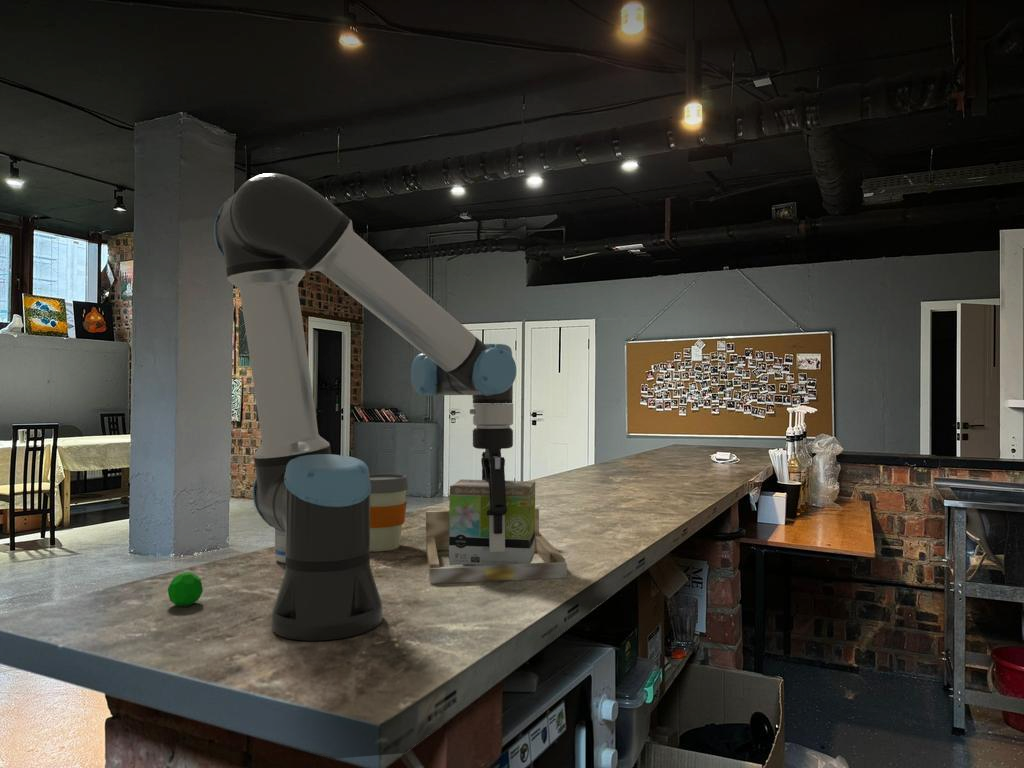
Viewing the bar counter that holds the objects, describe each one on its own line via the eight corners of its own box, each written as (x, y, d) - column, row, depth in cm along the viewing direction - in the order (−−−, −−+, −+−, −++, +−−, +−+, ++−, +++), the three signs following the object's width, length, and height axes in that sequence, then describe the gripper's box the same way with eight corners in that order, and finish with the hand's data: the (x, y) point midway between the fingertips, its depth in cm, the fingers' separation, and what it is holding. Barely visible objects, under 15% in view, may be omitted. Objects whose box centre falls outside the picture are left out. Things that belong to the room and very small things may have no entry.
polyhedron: (162, 610, 107) (162, 578, 107) (175, 600, 111) (175, 570, 112) (196, 609, 107) (196, 577, 107) (207, 600, 112) (207, 569, 112)
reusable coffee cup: (380, 555, 142) (380, 481, 143) (335, 549, 149) (335, 478, 149) (420, 544, 153) (419, 475, 153) (376, 538, 160) (376, 472, 160)
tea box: (447, 566, 127) (447, 484, 127) (459, 554, 137) (459, 478, 137) (530, 569, 125) (530, 485, 125) (536, 556, 135) (535, 479, 135)
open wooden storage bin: (430, 584, 120) (430, 537, 121) (425, 548, 148) (425, 510, 149) (567, 578, 124) (566, 532, 124) (537, 544, 152) (537, 507, 152)
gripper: (467, 424, 143) (467, 533, 142) (479, 429, 119) (479, 559, 119) (504, 424, 144) (504, 531, 143) (522, 429, 120) (523, 558, 120)
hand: (493, 544), depth 131 cm, fingers closed on tea box, 11 cm apart
